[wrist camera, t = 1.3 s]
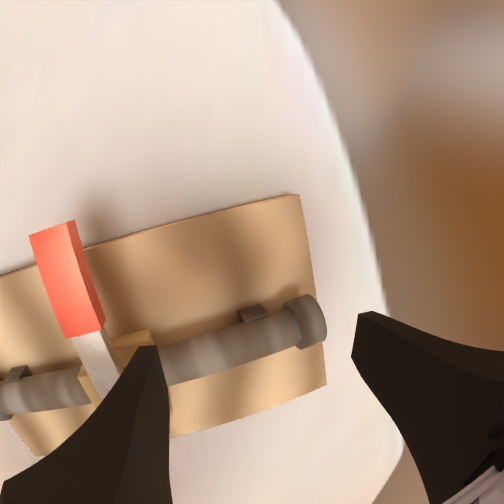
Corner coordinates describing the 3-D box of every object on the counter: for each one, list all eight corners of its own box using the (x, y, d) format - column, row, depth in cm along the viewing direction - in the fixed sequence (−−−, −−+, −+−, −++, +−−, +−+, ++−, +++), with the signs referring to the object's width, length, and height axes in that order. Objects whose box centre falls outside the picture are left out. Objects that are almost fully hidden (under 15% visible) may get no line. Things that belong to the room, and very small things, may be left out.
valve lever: (152, 410, 15) (153, 426, 14) (115, 418, 15) (114, 433, 13) (78, 218, 12) (69, 220, 11) (36, 232, 12) (25, 236, 10)
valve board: (38, 445, 19) (27, 487, 13) (-45, 293, 15) (-83, 317, 9) (318, 376, 25) (352, 411, 20) (290, 194, 21) (332, 195, 16)
